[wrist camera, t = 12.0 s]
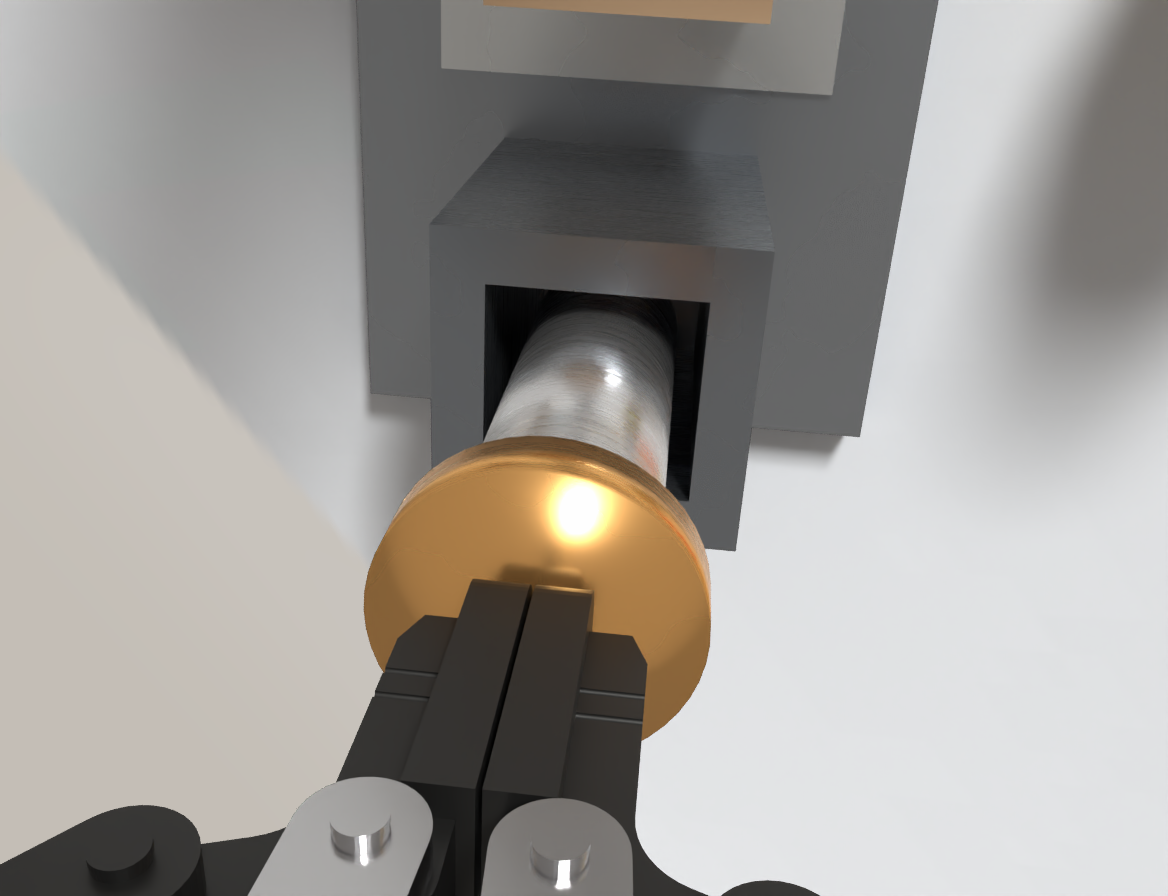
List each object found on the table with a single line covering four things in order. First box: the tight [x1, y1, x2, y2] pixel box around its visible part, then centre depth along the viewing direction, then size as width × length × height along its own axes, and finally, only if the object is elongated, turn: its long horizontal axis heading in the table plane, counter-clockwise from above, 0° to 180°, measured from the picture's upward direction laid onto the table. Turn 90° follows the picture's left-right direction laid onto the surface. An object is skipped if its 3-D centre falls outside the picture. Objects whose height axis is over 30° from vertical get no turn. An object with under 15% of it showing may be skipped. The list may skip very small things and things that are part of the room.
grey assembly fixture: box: [357, 0, 938, 551], centre depth 22 cm, size 18×13×9 cm
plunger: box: [364, 289, 711, 741], centre depth 19 cm, size 4×4×11 cm
